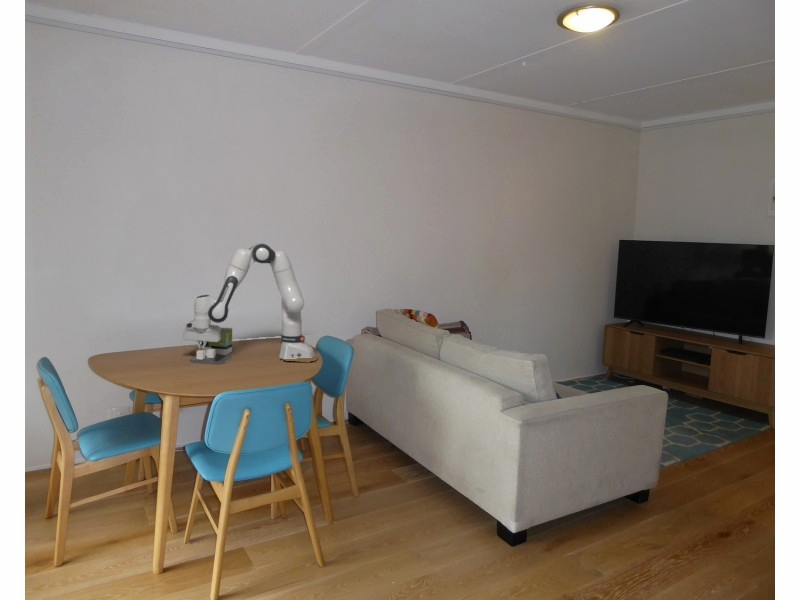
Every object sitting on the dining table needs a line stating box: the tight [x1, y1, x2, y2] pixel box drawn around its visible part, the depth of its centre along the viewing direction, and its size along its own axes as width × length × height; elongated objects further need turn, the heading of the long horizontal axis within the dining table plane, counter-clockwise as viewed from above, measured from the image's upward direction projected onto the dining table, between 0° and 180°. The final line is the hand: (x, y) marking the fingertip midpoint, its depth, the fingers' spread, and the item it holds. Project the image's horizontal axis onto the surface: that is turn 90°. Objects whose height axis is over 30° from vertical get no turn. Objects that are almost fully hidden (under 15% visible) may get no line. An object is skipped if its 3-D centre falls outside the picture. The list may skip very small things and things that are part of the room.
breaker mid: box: [207, 349, 216, 358], centre depth 306 cm, size 4×3×4 cm
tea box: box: [200, 326, 233, 356], centre depth 325 cm, size 15×10×15 cm
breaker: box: [196, 349, 205, 360], centre depth 302 cm, size 4×3×4 cm
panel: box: [189, 354, 232, 365], centre depth 307 cm, size 18×14×2 cm
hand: (201, 348), depth 306 cm, fingers closed
